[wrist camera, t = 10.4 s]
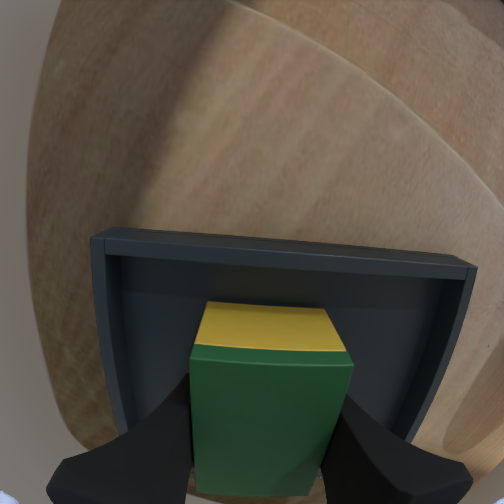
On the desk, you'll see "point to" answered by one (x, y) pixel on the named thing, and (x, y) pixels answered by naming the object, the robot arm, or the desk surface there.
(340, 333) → the tray
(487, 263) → the desk surface
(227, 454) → the sponge
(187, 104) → the desk surface
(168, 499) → the robot arm
